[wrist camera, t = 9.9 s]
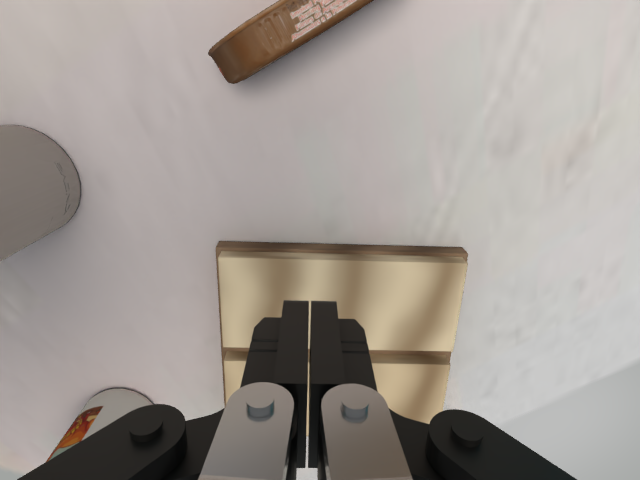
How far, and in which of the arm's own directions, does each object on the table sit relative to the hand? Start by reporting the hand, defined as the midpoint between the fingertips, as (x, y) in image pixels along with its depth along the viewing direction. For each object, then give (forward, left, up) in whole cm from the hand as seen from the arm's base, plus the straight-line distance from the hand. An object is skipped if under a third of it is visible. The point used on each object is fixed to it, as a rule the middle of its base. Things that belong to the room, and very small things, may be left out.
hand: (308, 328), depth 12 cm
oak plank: (+3, -12, -23) cm, 26 cm away
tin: (0, +11, -25) cm, 28 cm away
